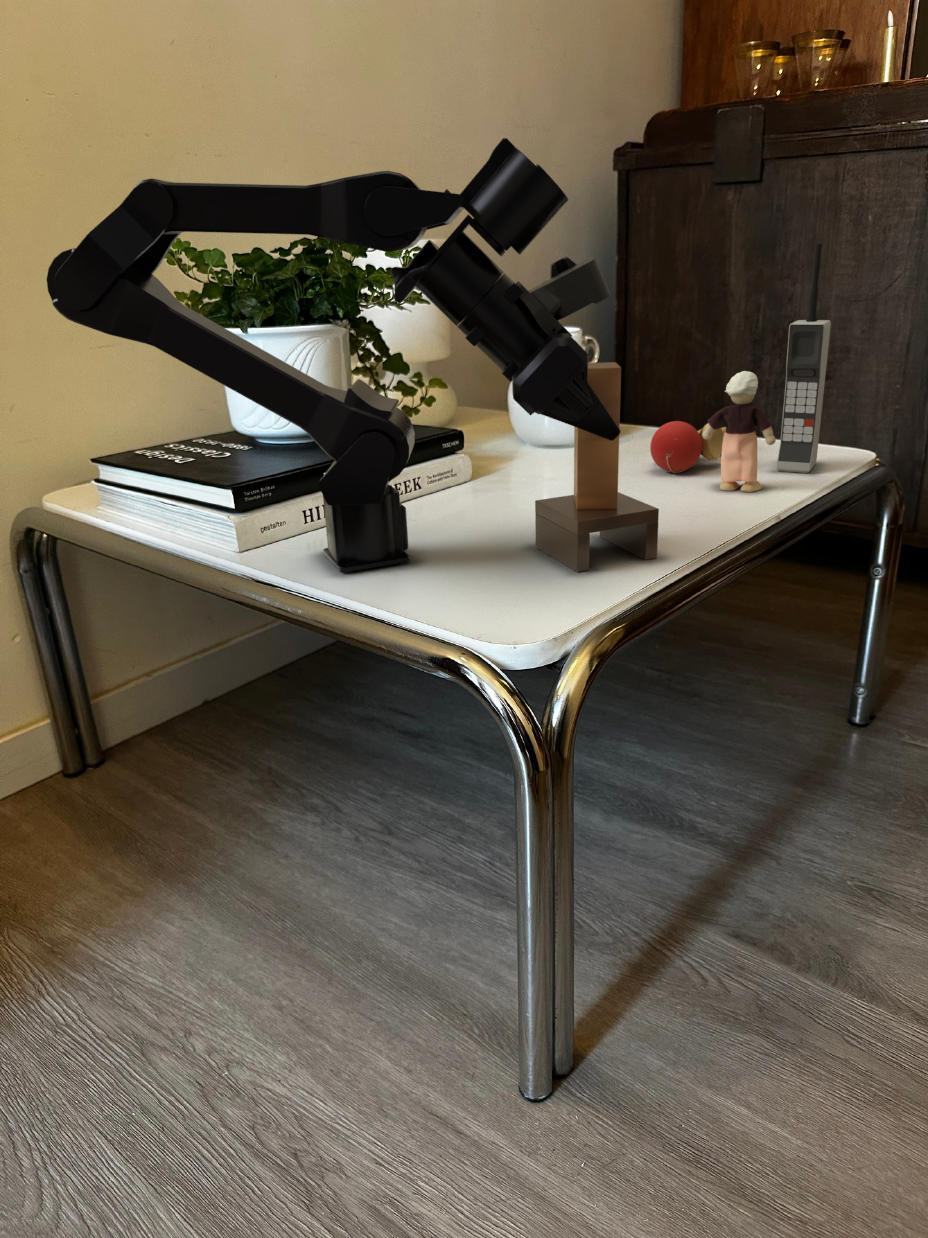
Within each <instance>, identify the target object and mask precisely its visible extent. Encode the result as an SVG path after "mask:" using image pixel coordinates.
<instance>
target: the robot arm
mask: <svg viewBox="0 0 928 1238" xmlns="http://www.w3.org/2000/svg"><path fill="white" fill-rule="evenodd" d="M568 201H569V198H568V196H567V194H566V193H565V192H564V191H563V190H562V188H561V186H559V184H557V182H555V180H554V179H553V178H552V177H551V176H550V174H548V173H547V171H546V170H545V169H544V168H543V167H542V166H541V165H540V164H539V163H536V164H535V163H534V162H533V161H532V160H531V159H530V158H529V157H528V156H526V154H524V153H523V152H522V151H521V150H520V149H519V148H517V147H516V146H515V145H514V143H512V141H510V139H509V138H507V137H503V138H502V139H501V140H500V141H499V142H498V144H497V145H496V146H495V147H494V148H493V150H492V152H491V153H490V155H489V158H488V159H487V161H486V162H485V164H483V166H482V167H481V168H480V169H479V171H477V173H476V174H475V175H474V177H473V178H472V179H471V180H470V181H469V182H468V183H467V185H466V186H465V187H464V188H463V190H462V191H461V192H460V193H454V192H451V191H450V190H449V189H448V188H446V189H445V190H444V191H437V190H426V189H422V188H421V187H420V186H419V185H418V184H417V183H416V181H413V180H412V179H411V178H409V177H408V176H406V175H404V174H402V173H401V172H396V171H391V170H381V171H373V172H369V173H362V174H358V175H357V174H356V175H352V176H346V177H341V178H337V179H333V180H328V181H323V182H319V183H318V182H317V183H314V184H308V185H307V184H306V185H303V184H302V185H299V184H298V185H296V184H257V183H256V184H255V183H253V184H251V183H214V182H213V183H212V182H208V183H207V182H173V181H169V180H164V179H158V178H146V179H143V180H140V181H139V182H137V184H135V185H134V187H133V188H132V189H131V191H130V192H129V193H128V195H127V196H126V197H125V199H123V201H122V202H121V203H120V204H119V205H118V206H117V207H116V208H115V209H114V210H113V211H111V212H110V213H109V214H108V215H107V216H106V217H105V218H104V219H103V220H101V221H100V222H99V223H98V224H97V225H96V226H94V228H93V229H92V230H90V231H89V232H88V233H87V234H86V235H85V237H83V239H82V240H81V242H79V244H77V246H76V247H73V248H69V249H66V250H63V251H61V252H59V254H58V255H56V256H55V257H54V258H53V259H52V261H51V263H50V265H49V266H48V269H47V274H46V286H47V292H48V294H49V297H50V300H51V303H52V306H53V307H54V309H55V310H56V311H57V312H58V313H59V314H60V315H61V316H62V317H64V318H65V319H66V320H68V321H71V322H73V323H75V324H78V325H81V326H84V327H87V328H89V329H91V330H95V331H98V332H101V333H103V334H106V335H109V336H113V337H117V338H121V339H125V340H128V341H133V342H137V343H141V344H146V345H149V346H151V347H154V348H156V349H158V350H160V351H161V352H163V353H165V354H167V355H168V356H171V357H172V358H174V359H176V360H178V361H180V362H181V363H183V364H184V365H186V366H189V367H190V368H192V369H193V370H196V371H198V372H200V373H201V374H203V375H204V376H206V377H208V378H210V379H212V380H214V381H216V382H217V383H219V384H221V385H223V386H224V387H226V388H228V389H230V390H232V391H234V392H236V393H237V394H239V395H241V396H243V397H244V398H246V399H248V400H250V401H252V402H253V403H255V404H257V405H259V406H261V407H263V408H264V409H266V410H268V411H269V412H271V413H273V414H275V415H277V416H279V417H280V418H282V419H284V420H285V421H287V422H290V423H291V424H293V425H294V426H297V427H299V428H300V429H302V430H303V432H305V433H306V434H307V435H308V436H309V437H310V438H311V439H312V440H313V441H314V443H316V445H318V447H320V449H321V450H322V451H323V452H324V453H325V454H326V455H327V456H328V457H329V458H330V459H332V460H333V462H332V464H330V467H329V468H328V469H327V470H326V472H325V473H324V474H323V475H322V477H321V478H320V480H319V481H318V485H317V486H318V488H319V490H320V492H321V494H322V501H323V511H324V521H325V531H326V540H327V541H326V542H327V547H325V548H323V555H324V556H325V557H326V558H327V559H328V560H329V562H331V563H332V565H333V566H334V567H335V568H336V570H338V572H340V573H350V572H355V571H362V570H367V569H374V568H380V567H386V566H392V565H398V564H404V563H409V562H411V557H410V555H409V554H408V553H407V552H406V551H407V550H408V549H409V535H408V534H409V533H408V519H407V507H406V506H405V505H403V504H402V503H401V498H400V491H399V490H398V489H396V488H395V487H394V486H392V485H390V484H389V483H390V482H391V481H392V480H394V479H396V478H397V477H399V476H400V475H401V474H402V472H404V470H405V468H406V467H407V464H408V462H409V459H410V457H411V454H412V452H413V449H414V446H415V443H416V442H415V439H416V433H415V429H414V426H413V423H412V420H411V419H410V417H409V416H408V414H406V413H405V412H404V411H403V410H401V409H400V408H399V407H397V406H398V405H399V403H400V400H399V399H398V398H391V397H387V396H385V395H382V394H381V393H379V391H376V390H375V389H374V388H372V386H370V385H369V384H368V383H367V382H365V381H363V380H362V379H360V378H357V379H356V380H355V381H354V382H353V383H352V384H351V385H350V386H349V387H348V388H347V390H343V389H339V388H335V387H332V386H329V385H326V384H324V383H322V382H321V381H319V380H317V379H315V378H313V377H312V376H310V375H308V374H307V373H305V372H303V371H301V370H299V369H298V368H296V367H294V366H292V365H290V364H289V363H287V362H285V361H283V360H281V359H280V358H278V357H276V356H275V355H273V354H271V353H270V352H268V351H266V350H265V349H262V348H261V347H259V346H257V345H255V344H253V343H251V342H250V341H248V340H246V339H245V338H243V337H242V336H240V335H238V334H235V332H232V331H230V330H229V329H227V328H225V327H223V326H222V325H220V324H218V323H216V322H215V321H213V320H211V319H209V318H208V317H206V316H204V315H202V314H201V313H199V312H197V311H195V310H194V309H192V308H190V307H188V306H186V305H185V304H183V303H182V302H181V301H179V300H178V299H177V298H176V297H175V296H174V294H172V292H171V291H170V290H169V289H168V288H167V287H166V286H165V285H164V283H163V282H162V281H161V280H160V279H159V278H158V277H156V276H155V275H154V273H155V272H156V271H157V270H158V269H159V267H160V266H161V264H162V262H163V261H164V259H165V258H166V256H167V254H168V253H169V251H170V249H171V248H172V246H173V244H174V243H175V241H176V240H177V239H178V237H179V236H180V235H181V234H182V233H216V234H217V233H221V234H222V233H224V234H257V235H259V234H260V235H261V234H262V235H263V234H264V235H265V234H266V235H267V234H268V235H300V236H301V235H302V236H303V235H305V236H313V237H317V238H322V239H326V240H331V241H335V242H339V243H343V244H347V245H353V246H357V247H361V248H367V249H371V250H376V251H380V252H387V253H388V252H389V253H392V252H398V251H406V250H409V249H411V248H413V247H414V246H416V245H417V244H418V243H420V241H421V240H422V239H423V238H424V236H425V234H426V232H427V231H428V230H432V229H437V228H439V227H440V228H441V227H443V226H447V225H450V224H452V223H453V222H454V221H455V220H456V218H457V217H458V216H459V215H460V214H461V212H462V211H463V210H465V211H466V212H467V213H468V214H467V215H466V216H465V217H464V219H462V221H461V222H460V223H459V225H458V226H457V227H456V228H455V229H454V230H453V232H452V233H451V234H450V235H449V236H448V237H447V238H446V239H445V241H444V242H442V244H441V245H440V246H438V245H437V244H436V243H435V242H433V241H432V240H431V239H428V240H427V241H426V243H425V244H424V245H422V247H421V248H420V250H419V251H418V252H417V253H416V254H415V255H414V257H413V258H412V259H411V260H410V262H408V264H407V265H406V266H393V267H392V268H391V269H390V273H391V276H392V279H393V284H394V292H393V299H394V300H393V301H394V302H396V303H398V304H401V303H403V302H404V301H406V300H407V298H409V296H410V295H411V294H412V293H413V292H414V291H415V289H417V290H419V292H420V293H422V294H423V295H424V296H425V297H426V298H427V299H428V300H429V301H430V302H431V303H432V304H434V306H435V307H436V308H437V309H438V310H439V311H440V312H441V313H443V315H445V317H446V318H447V319H448V320H449V321H450V322H452V323H453V324H454V325H455V326H456V328H457V329H459V330H460V331H461V332H462V334H464V335H465V337H464V338H465V339H466V340H467V341H468V343H469V344H471V346H473V347H477V348H478V349H479V350H480V351H481V352H482V353H483V354H484V355H486V356H487V358H488V359H489V360H491V362H492V363H494V365H496V366H497V367H498V368H499V369H500V370H501V374H502V375H503V376H504V377H505V378H506V380H508V381H509V382H510V383H511V386H512V388H511V392H512V399H513V400H514V401H515V402H516V403H517V404H518V405H519V406H520V407H521V408H522V409H523V410H524V411H525V412H526V413H527V414H528V415H529V416H532V415H533V414H537V415H541V416H544V417H547V418H549V419H552V420H556V421H558V422H560V423H564V424H566V425H569V426H571V427H577V428H579V429H582V430H584V431H587V432H590V433H592V434H595V435H597V436H600V437H602V438H605V439H608V440H610V441H613V440H614V439H615V438H616V437H617V436H618V435H619V436H620V434H621V429H620V427H619V428H618V426H617V425H616V423H615V422H614V420H613V419H612V417H611V416H610V414H609V413H608V411H607V410H606V409H605V407H604V406H603V404H602V403H601V401H600V400H599V398H598V397H597V395H596V394H595V392H594V391H593V389H592V388H591V387H590V385H589V383H588V381H587V374H588V363H590V361H589V359H590V358H589V353H588V352H587V351H586V350H585V349H584V348H583V347H582V346H581V345H580V344H579V343H578V342H577V340H575V339H574V338H573V335H572V334H571V333H570V331H568V329H567V328H566V327H565V326H564V325H562V323H561V322H560V320H563V319H565V318H567V317H568V316H571V315H573V314H574V313H576V312H578V311H580V310H581V309H584V308H586V307H588V306H590V305H592V304H595V305H596V304H599V303H601V302H602V301H604V300H606V299H608V298H609V297H610V296H611V292H610V290H609V287H608V285H607V283H606V282H607V281H606V280H605V278H604V275H603V273H602V271H601V269H600V267H599V264H598V261H597V259H596V258H595V257H589V258H587V259H583V260H582V261H580V262H578V263H576V262H574V260H572V259H571V258H570V257H568V256H565V255H564V256H563V257H561V258H559V259H557V260H556V261H554V262H552V263H550V265H549V279H546V280H544V281H542V282H541V283H540V284H538V285H536V286H534V287H533V288H531V289H527V288H526V287H525V286H524V285H523V284H522V283H521V282H520V281H519V280H517V281H516V282H515V281H514V280H513V279H511V277H510V276H508V275H507V274H506V272H504V270H503V269H502V268H500V267H499V266H498V265H497V264H496V262H494V260H493V259H491V258H490V257H489V255H487V253H485V252H484V251H483V249H482V248H480V247H479V246H478V244H476V242H475V241H474V240H473V239H472V238H471V237H470V236H469V235H468V234H467V233H466V232H465V231H466V230H467V229H468V227H469V226H470V228H472V229H473V230H474V231H475V232H476V233H477V234H478V236H480V237H481V238H482V239H483V240H484V241H485V242H486V243H487V244H488V245H489V246H490V247H491V248H492V250H494V252H496V253H497V255H498V256H500V257H501V258H502V257H503V256H504V255H505V253H506V252H508V251H509V249H511V248H512V249H513V250H514V251H515V252H516V253H517V254H518V255H519V256H521V254H523V252H524V251H526V249H527V248H528V246H529V245H531V243H532V242H533V241H534V240H535V238H537V236H538V235H539V234H540V233H541V232H542V231H543V230H544V228H545V227H546V226H547V225H548V224H549V223H550V222H551V221H552V220H553V218H554V217H555V216H556V215H557V214H558V213H559V211H561V209H562V208H563V207H564V206H565V205H566V204H567V203H568Z"/></svg>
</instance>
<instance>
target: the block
mask: <svg viewBox="0 0 928 1238" xmlns="http://www.w3.org/2000/svg"><path fill="white" fill-rule="evenodd" d="M587 381H588V383H589V385H590V387H591V388H592V389H593V391H594V392H595V394H596V395H597V397H598V398H599V400H600V401H601V403H602V404H603V406H604V407H605V409H606V410H607V411H608V413H609V414H610V416H611V417H612V419H613V420H614V422H615V423H616V425H617V426H618V428H619V429H620V424H621V423H620V421H621V384H622V367H621V366H620V365H619V364H618V363H617V362H616V361H612V362H610V361H609V362H608V361H607V362H588V374H587ZM573 427H574V426H573ZM573 430H574V431H573V432H574V433H573V434H574V435H573V437H574V438H573V449H574V450H573V495H574V502H575V505H576V508H577V510H593V509H617V502H618V492H619V463H620V462H619V461H620V460H619V458H620V434H619V435H618V436H617V437H616V438H615V439H614V440H613V441H610V440H608V439H605V438H602V437H600V436H597V435H595V434H592V433H590V432H587V431H584V430H582V429H579V428H577V427H574V429H573Z"/></svg>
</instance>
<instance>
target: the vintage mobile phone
mask: <svg viewBox="0 0 928 1238" xmlns="http://www.w3.org/2000/svg"><path fill="white" fill-rule="evenodd" d="M822 247H823V244H822V243H821V242H817V243H816V244H815V251H814V260H813V261H814V262H813V273H812V282H811V287H810V291H809V292H810V293H809V301H808V302H809V303H808V310H807V311H808V313H807V317H806V319H798V320H795V321H793V322H791V323H790V324H789V327H788V337H787V339H788V340H787V352H786V363H785V364H786V365H785V385H784V386H785V387H784V397H783V407H782V419H781V420H782V421H781V432H780V440H779V441H780V442H779V449H778V454H777V462H776V470H777V471H778V472H785V473H786V472H788V473H798V474H799V473H802V474H809V473H810V471H811V470H812V469H813V467H814V466H815V465H816V463H817V460H818V459H817V458H818V449H819V440H820V430H821V422H822V421H821V420H822V412H823V404H824V395H825V394H824V393H825V384H826V374H827V363H828V355H829V354H828V353H829V347H830V335H831V326H832V323H831V320H830V319H818V317H817V310H818V309H817V308H818V299H819V277H820V267H821V257H822Z"/></svg>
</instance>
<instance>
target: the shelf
mask: <svg viewBox="0 0 928 1238" xmlns="http://www.w3.org/2000/svg"><path fill="white" fill-rule="evenodd" d="M534 509H535V510H534V512H535V520H534V521H535V548H536V549H538V550H539V551H541V552H543V553H545V554H547V555H548V556H550V557H551V558H553V559H554V560H556V561H558V562H560V563H561V564H563V565H565V566H566V567H568V568H570V569H572V570H573V571H574V572H577V573H580V572H587V571H590V540H591V539H590V538H591V536H590V535H591V534H593V533H599V537H600V538H601V539H603V540H605V541H607V542H609V543H611V544H613V545H615V546H617V547H619V548H621V549H623V550H624V551H626V552H629V553H631V554H633V555H634V556H637V557H639V558H641V559H643V560H645V561H647V560H648V561H649V560H652V559H658V544H659V543H658V540H659V514H660V509H659V508H658V507H655V506H653V505H650V504H648V503H645V502H644V501H641V500H638V499H636V498H633V497H631V496H629V495H626V494H624V493H621V492H619V491H618V502H617V509H593V510H577V508H576V505H575V502H574V494H570V495H562V496H556V497H549V498H543V499H536V500H534Z"/></svg>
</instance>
